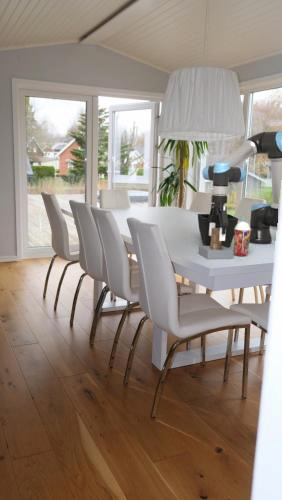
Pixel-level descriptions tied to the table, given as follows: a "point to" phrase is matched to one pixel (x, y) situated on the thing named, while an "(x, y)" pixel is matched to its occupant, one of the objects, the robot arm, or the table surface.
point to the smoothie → (241, 238)
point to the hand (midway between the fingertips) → (216, 238)
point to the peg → (215, 239)
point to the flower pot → (205, 225)
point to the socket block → (215, 253)
